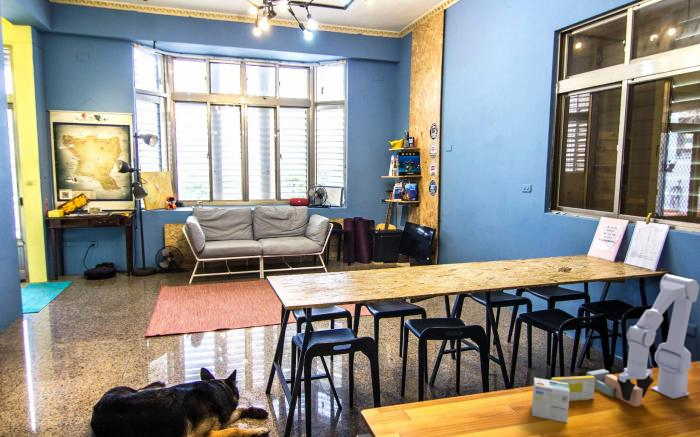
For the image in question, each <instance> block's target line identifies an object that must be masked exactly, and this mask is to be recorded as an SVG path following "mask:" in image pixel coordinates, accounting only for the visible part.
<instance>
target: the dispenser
mask: <svg viewBox="0 0 700 437" xmlns="http://www.w3.org/2000/svg"><path fill="white" fill-rule="evenodd" d="M606 375H610V371H609V370H606V369H605V368H602V369H601V368H600V369H597V370H593V371H592V370H591V371H587V372H586V376H594V377H595V388H597V389H598V390H597V389H596V390H597V391H599V390H600V391H599V392H601V391H602V392H601V393H603V392H604V393H603V394H605V393H606V394H605V395H607V394H608V395H607V396H609V395H610V396H611V398H612V397H614V398H616V396H615V395H616V387H614V386H613V387H611V386H609V385H607V384H605V376H606ZM610 396H609V397H610Z"/></svg>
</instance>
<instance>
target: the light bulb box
mask: <svg viewBox="0 0 700 437" xmlns="http://www.w3.org/2000/svg"><path fill="white" fill-rule="evenodd" d="M532 388H533V389H532V400H531V401H532V403H531V412H532V413H531V414H532V415H531V416H532V417H536V418H542V419H546V420H553V421H556V422H562V423H566V424H567V423H568V419H569V418H568V417H569V406H570V405H569V404H570V401H569V397H570V390H569V387H568V383H565V382H558V381H552V380H551V379H546V378H538V377H536V376H535V377H534V376H533V387H532Z"/></svg>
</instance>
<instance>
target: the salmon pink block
mask: <svg viewBox="0 0 700 437" xmlns="http://www.w3.org/2000/svg"><path fill="white" fill-rule="evenodd" d="M617 377H618V376H616V375H614V374H611V373H609V375H606V376H605V384H607V385H609V386H611V387H613V386H614V387H616V395H615V398H617V399H619V398H620V399H619V400H621V401H624V402H626V403H627V404H629V405H631V406H632V407H640V406H642V402H643V398H642V393H643V389H641V388H639V387H637V385H635V387H634V388H633V390H632V393H631V397H630V400H629V401H626V400H624V399H623V398H622V393H621V388H620V385H619V383H618V381H617Z"/></svg>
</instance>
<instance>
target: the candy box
mask: <svg viewBox="0 0 700 437" xmlns="http://www.w3.org/2000/svg"><path fill="white" fill-rule="evenodd" d="M550 380H552V381H558V382H565V383H568V387H569V390H570V397H569V402H573V401H575V402H576V401H590V400H589V399H594V400H595V377H594V376H587V375H581V376H555V377H551V379H550Z"/></svg>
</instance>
